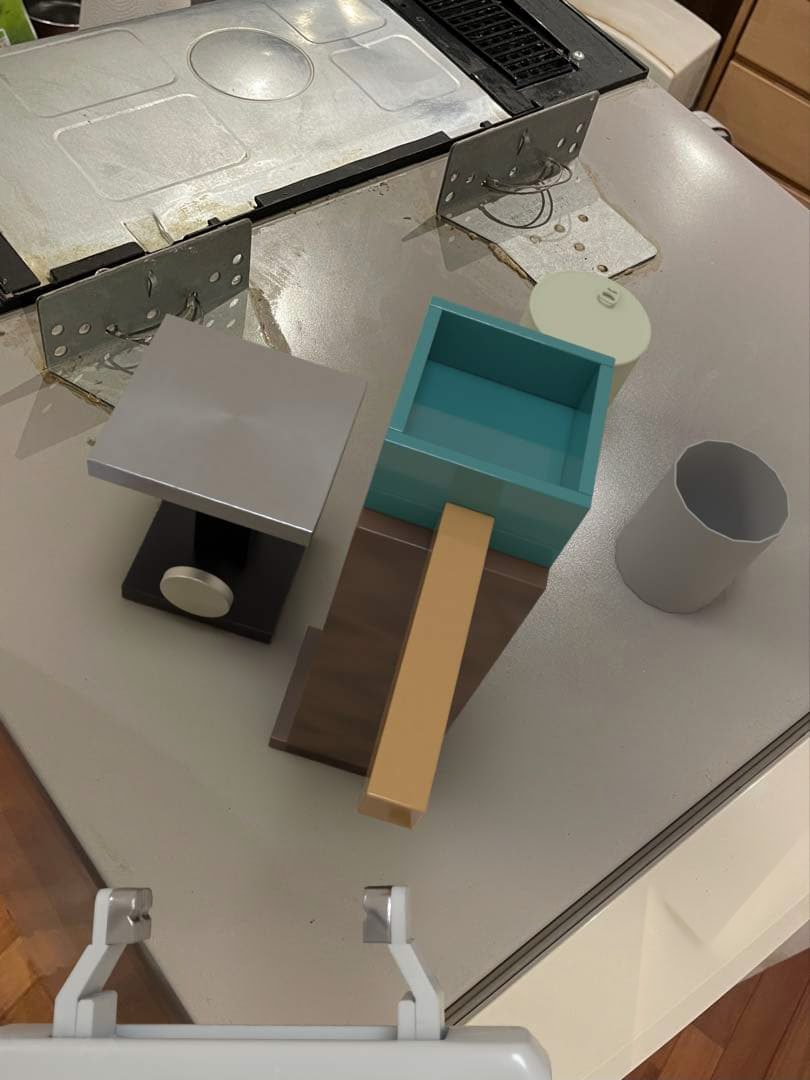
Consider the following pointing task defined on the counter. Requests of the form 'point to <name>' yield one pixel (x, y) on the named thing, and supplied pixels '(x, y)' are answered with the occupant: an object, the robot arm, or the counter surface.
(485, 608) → the plinth
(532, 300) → the can
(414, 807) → the teal handled box
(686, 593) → the cup
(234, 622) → the scale
